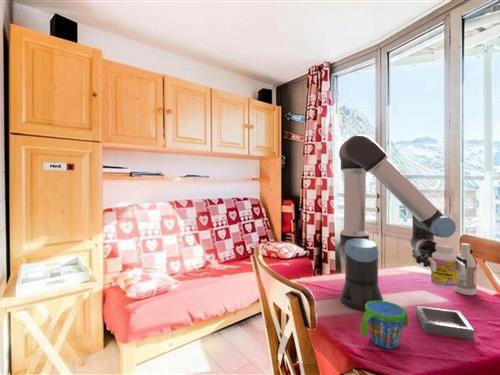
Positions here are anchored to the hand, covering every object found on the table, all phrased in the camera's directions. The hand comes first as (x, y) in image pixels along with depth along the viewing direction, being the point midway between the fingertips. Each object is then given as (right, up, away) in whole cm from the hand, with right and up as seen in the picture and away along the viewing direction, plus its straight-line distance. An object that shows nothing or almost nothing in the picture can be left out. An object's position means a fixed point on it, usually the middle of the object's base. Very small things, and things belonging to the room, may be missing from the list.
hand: (449, 268), depth 85 cm
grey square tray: (+1, -20, +5) cm, 20 cm away
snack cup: (-21, -21, -4) cm, 30 cm away
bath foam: (+29, -19, +31) cm, 46 cm away
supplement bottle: (+2, -7, +5) cm, 9 cm away
